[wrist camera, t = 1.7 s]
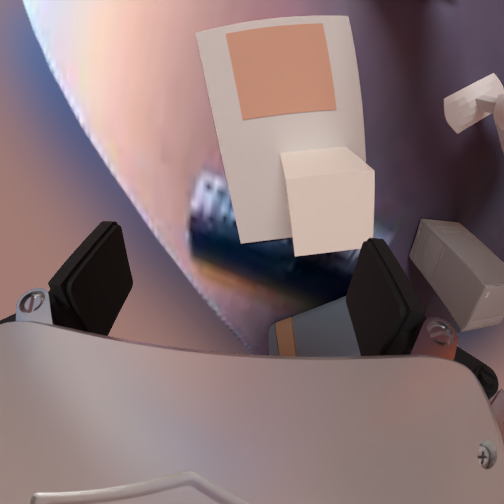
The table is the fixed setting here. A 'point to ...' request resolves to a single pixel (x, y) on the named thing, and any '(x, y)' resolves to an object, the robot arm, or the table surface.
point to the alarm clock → (315, 333)
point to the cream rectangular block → (328, 199)
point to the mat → (279, 106)
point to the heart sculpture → (476, 105)
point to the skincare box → (460, 272)
